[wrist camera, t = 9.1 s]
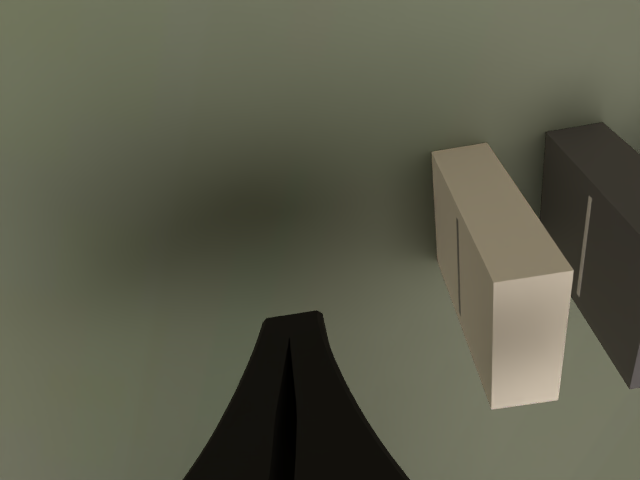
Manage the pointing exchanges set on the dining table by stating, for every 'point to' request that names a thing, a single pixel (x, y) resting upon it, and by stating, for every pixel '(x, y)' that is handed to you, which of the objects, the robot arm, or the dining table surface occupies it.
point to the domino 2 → (598, 233)
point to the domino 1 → (501, 276)
